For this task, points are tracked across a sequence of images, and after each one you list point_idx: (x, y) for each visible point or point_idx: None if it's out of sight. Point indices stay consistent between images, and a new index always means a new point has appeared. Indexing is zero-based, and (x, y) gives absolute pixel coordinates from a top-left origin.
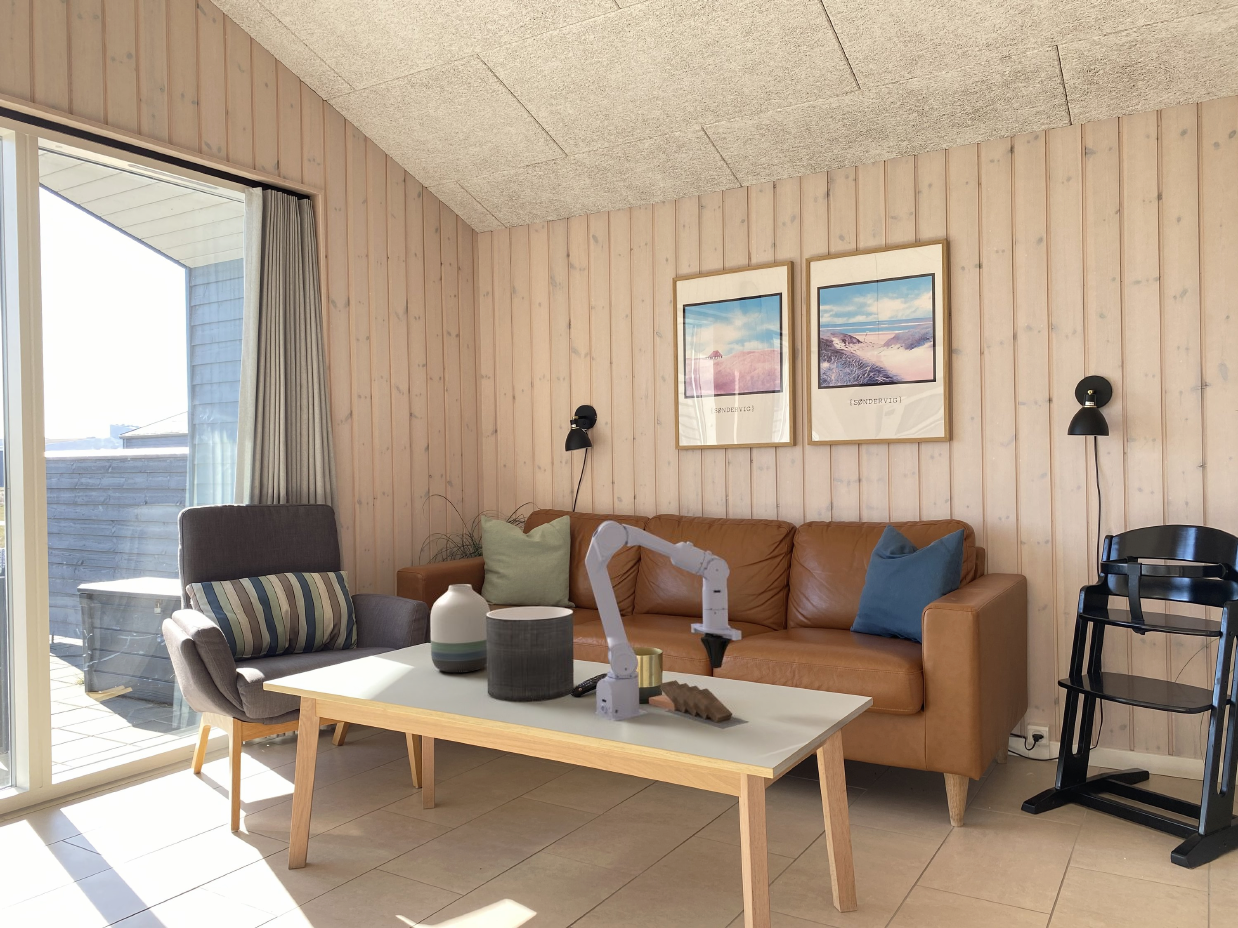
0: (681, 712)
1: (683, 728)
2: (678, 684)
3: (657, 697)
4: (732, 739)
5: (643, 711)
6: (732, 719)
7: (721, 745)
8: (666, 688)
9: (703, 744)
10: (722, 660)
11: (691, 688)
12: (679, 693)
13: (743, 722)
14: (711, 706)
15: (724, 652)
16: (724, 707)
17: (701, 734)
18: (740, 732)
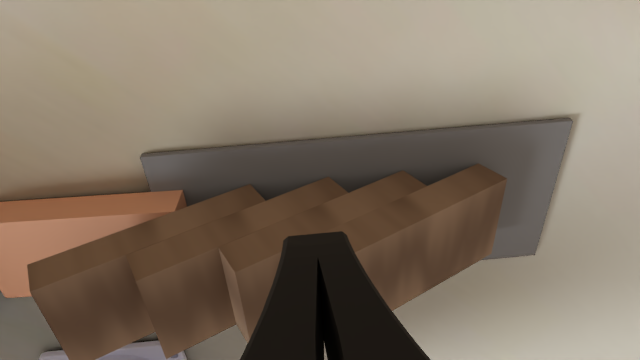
0: None
1: (409, 327)
2: (80, 280)
3: (16, 270)
4: (620, 283)
5: (162, 350)
6: (487, 156)
7: (619, 330)
8: (123, 344)
9: (567, 356)
10: (364, 273)
11: (258, 303)
12: (229, 324)
13: (556, 148)
14: (440, 266)
15: (420, 353)
16: (468, 204)
17: (502, 320)
18: (605, 223)
